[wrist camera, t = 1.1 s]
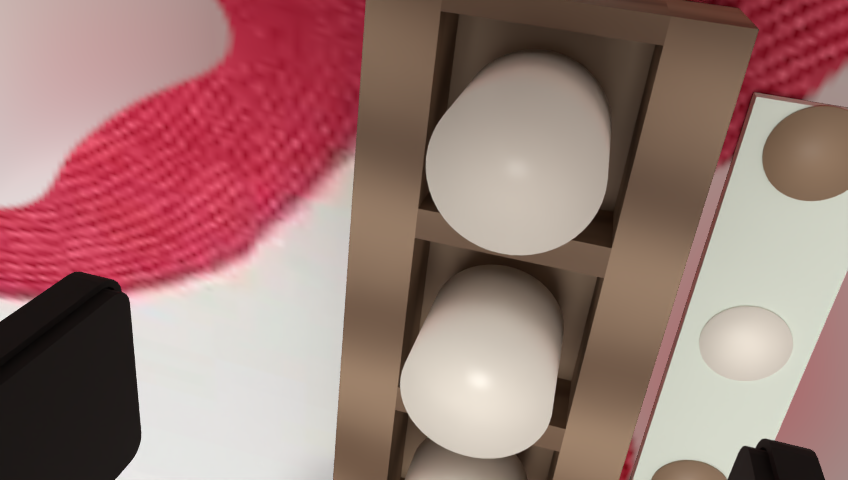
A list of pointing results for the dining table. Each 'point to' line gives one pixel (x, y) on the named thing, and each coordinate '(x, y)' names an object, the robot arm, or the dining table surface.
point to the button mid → (485, 363)
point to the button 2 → (522, 154)
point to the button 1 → (461, 465)
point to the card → (755, 292)
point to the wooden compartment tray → (556, 269)
